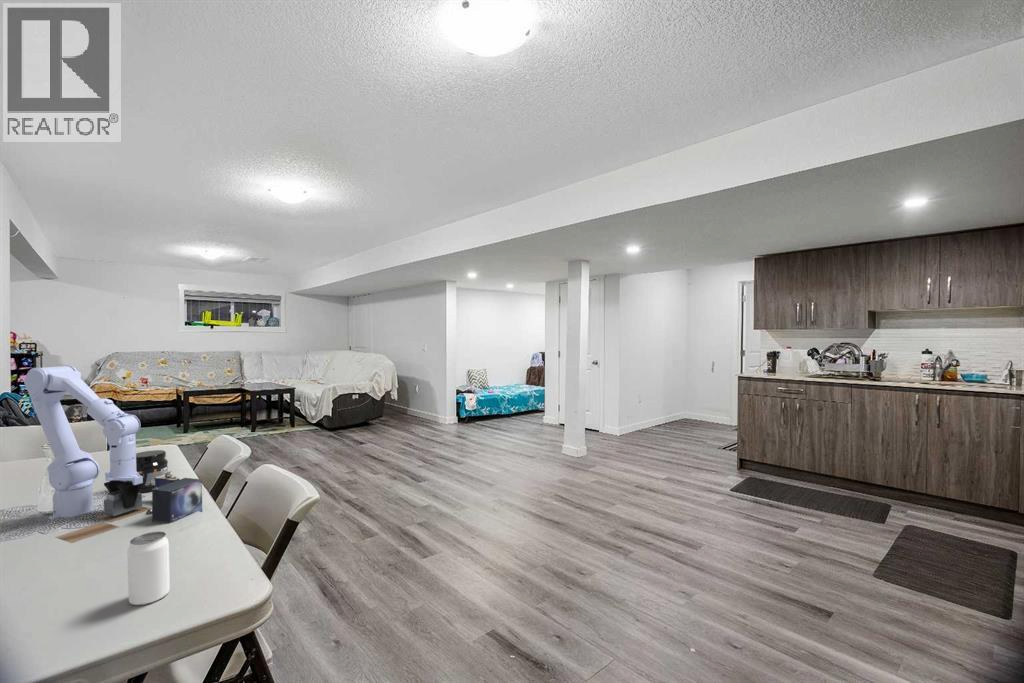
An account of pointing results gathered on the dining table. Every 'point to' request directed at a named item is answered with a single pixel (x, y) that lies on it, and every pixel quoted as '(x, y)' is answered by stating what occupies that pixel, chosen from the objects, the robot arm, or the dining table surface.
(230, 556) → the dining table surface
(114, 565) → the dining table surface
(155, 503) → the small box
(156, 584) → the can
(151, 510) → the loose bolt
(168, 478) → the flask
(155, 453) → the supplement container
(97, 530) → the stand
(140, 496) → the block
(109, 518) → the stand
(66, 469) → the robot arm
